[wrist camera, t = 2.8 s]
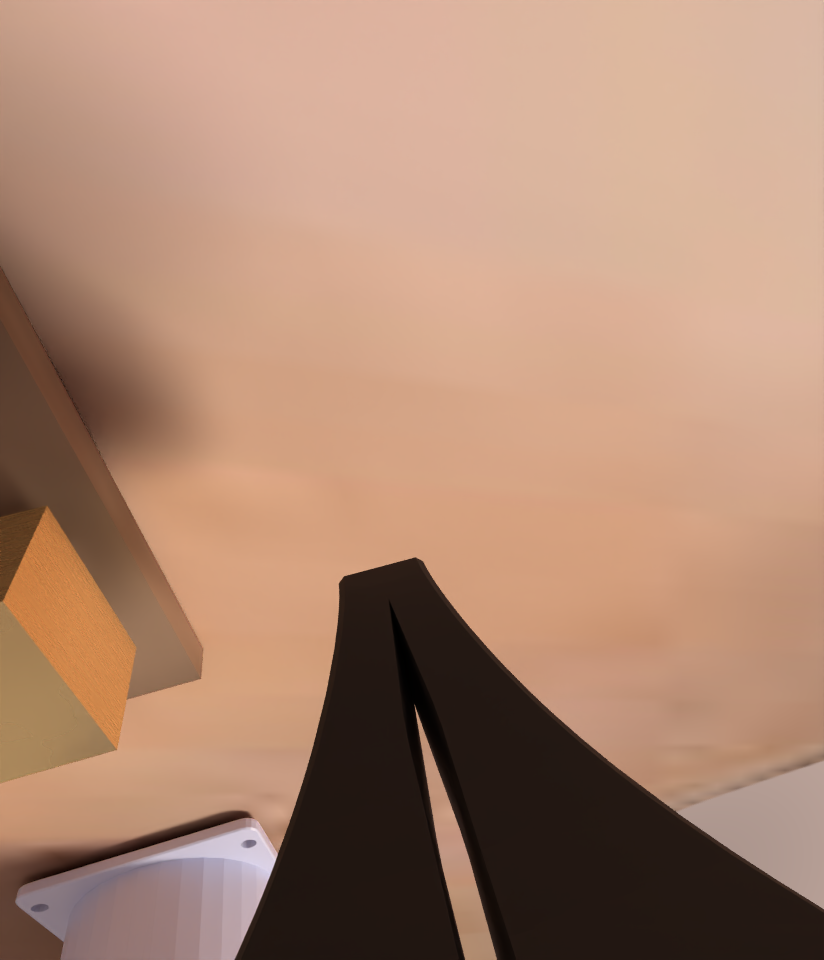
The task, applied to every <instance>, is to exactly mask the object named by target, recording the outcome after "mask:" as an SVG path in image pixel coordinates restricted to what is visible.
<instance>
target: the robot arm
mask: <svg viewBox="0 0 824 960" xmlns="http://www.w3.org/2000/svg"><path fill="white" fill-rule="evenodd" d="M414 704H415V706H414ZM415 707H416V710H417V712H418V715H419V718H420V721H421V723H422V726H423V729H424V732H425V734H426V737H427V740H428V743H429V745H430V748H431V751H432V754H433V756H434V759H435V762H436V765H437V767H438V770H439V773H440V776H441V778H442V781H443V784H444V787H445V789H446V792H447V795H448V798H449V800H450V803H451V806H452V809H453V811H454V814H455V817H456V820H457V822H458V825H459V828H460V831H461V834H462V837H463V840H464V843H465V846H466V849H467V853H468V856H469V859H470V862H471V866H472V870H473V873H474V877H475V881H476V884H477V888H478V891H479V895H480V899H481V902H482V906H483V910H484V913H485V917H486V920H487V924H488V928H489V931H490V935H491V939H492V942H493V946H494V950H495V953H496V957H497V960H824V909H822V908H821V907H819V906H818V905H816V904H815V903H813V902H811V901H810V900H808V899H806V898H805V897H803V896H802V895H800V894H798V893H797V892H795V891H794V890H792V889H790V888H789V887H787V886H785V885H784V884H782V883H781V882H779V881H777V880H776V879H774V878H773V877H771V876H770V875H768V874H767V873H765V872H764V871H762V870H760V869H759V868H757V867H756V866H754V865H753V864H751V863H750V862H748V861H747V860H745V859H744V858H742V857H740V856H739V855H737V854H736V853H734V852H733V851H731V850H730V849H728V848H727V847H726V846H724V845H723V844H721V843H720V842H718V841H717V840H715V839H714V838H712V837H711V836H710V835H708V834H707V833H705V832H704V831H702V830H701V829H699V828H698V827H696V826H695V825H694V824H692V823H691V822H689V821H688V820H686V819H685V818H683V817H682V816H681V815H679V814H678V813H677V812H675V811H674V810H673V809H671V808H670V807H669V806H667V805H666V804H665V803H663V802H662V801H661V800H659V799H658V798H657V797H655V796H654V795H653V794H651V793H650V792H649V791H647V790H646V789H645V788H643V787H642V786H641V785H639V784H638V783H637V782H635V781H634V780H633V779H631V778H630V777H629V776H627V775H626V774H625V773H623V772H622V771H621V770H619V769H618V768H617V767H615V766H614V765H613V764H612V763H610V762H609V761H608V760H607V759H606V758H604V757H603V756H602V755H601V754H600V753H598V752H597V751H596V750H595V749H593V748H592V747H591V746H590V745H589V744H587V743H586V742H585V741H584V740H583V739H581V738H580V737H579V736H578V735H577V734H576V733H574V732H573V731H572V730H571V729H570V728H569V727H568V726H567V725H565V724H564V723H563V722H562V721H561V720H560V719H559V718H557V717H556V716H555V715H554V714H553V713H552V712H551V711H550V710H549V709H548V708H547V707H545V706H544V705H543V704H542V703H541V702H540V701H539V700H538V699H537V698H536V697H535V696H534V695H533V694H532V693H531V692H530V691H529V690H528V689H527V688H526V687H525V686H524V685H523V684H522V683H521V682H520V681H519V680H518V679H517V678H516V677H515V676H514V675H513V674H512V673H511V672H510V671H509V670H508V669H507V668H506V667H505V666H504V665H503V664H502V663H501V662H500V661H499V660H498V659H497V658H496V657H495V655H494V654H493V653H492V652H491V651H490V650H489V649H488V648H487V647H486V645H485V644H484V643H483V642H482V641H481V640H480V639H479V637H478V636H477V635H476V634H475V633H474V632H473V631H472V629H471V628H470V627H469V626H468V625H467V624H466V622H465V621H464V620H463V619H462V617H461V616H460V615H459V614H458V613H457V611H456V610H455V609H454V607H453V606H452V605H451V603H450V602H449V601H448V599H447V598H446V597H445V595H444V594H443V593H442V591H441V590H440V588H439V587H438V586H437V584H436V583H435V581H434V580H433V578H432V576H431V575H430V573H429V572H428V570H427V568H426V566H425V565H424V563H423V561H421V560H419V559H417V558H412V559H408V560H404V561H400V562H397V563H393V564H389V565H385V566H382V567H378V568H374V569H370V570H367V571H363V572H359V573H355V574H352V575H348V576H344V577H343V579H342V580H341V581H340V583H339V615H338V626H337V634H336V641H335V649H334V654H333V660H332V665H331V671H330V676H329V682H328V687H327V692H326V697H325V701H324V705H323V709H322V713H321V717H320V721H319V725H318V729H317V733H316V737H315V741H314V745H313V749H312V753H311V756H310V760H309V763H308V767H307V770H306V773H305V777H304V780H303V783H302V786H301V789H300V793H299V796H298V799H297V802H296V805H295V808H294V811H293V814H292V817H291V820H290V823H289V826H288V828H287V831H286V834H285V836H284V839H283V842H282V845H281V847H280V850H279V853H278V854H277V852H276V850H275V849H274V847H273V845H272V844H271V842H270V840H269V839H268V837H267V835H266V834H265V832H264V830H263V829H262V827H261V825H260V824H259V822H258V821H257V820H255V819H253V818H242V819H238V820H235V821H232V822H228V823H225V824H222V825H218V826H215V827H212V828H208V829H205V830H202V831H199V832H195V833H192V834H189V835H185V836H182V837H179V838H175V839H172V840H169V841H166V842H162V843H159V844H156V845H152V846H149V847H146V848H142V849H139V850H136V851H133V852H129V853H126V854H123V855H119V856H116V857H113V858H109V859H106V860H103V861H99V862H96V863H93V864H90V865H86V866H83V867H80V868H76V869H73V870H70V871H66V872H63V873H60V874H57V875H53V876H50V877H47V878H43V879H40V880H37V881H33V882H30V883H27V884H25V885H23V886H22V887H21V888H20V889H19V890H18V894H17V897H16V901H15V903H16V904H17V906H18V907H20V908H21V909H22V910H23V911H25V912H26V913H27V914H29V915H30V916H31V917H32V918H34V919H35V920H36V921H37V922H39V923H40V924H41V925H43V926H44V927H45V928H46V929H48V930H49V931H50V932H51V933H53V934H54V935H55V936H57V937H58V938H59V939H60V940H62V941H63V942H64V944H63V949H62V954H61V958H60V960H465V958H464V953H463V949H462V945H461V941H460V937H459V933H458V929H457V925H456V921H455V917H454V913H453V909H452V905H451V901H450V897H449V893H448V889H447V885H446V880H445V876H444V872H443V868H442V864H441V859H440V854H439V849H438V844H437V839H436V833H435V827H434V821H433V815H432V809H431V803H430V797H429V791H428V784H427V778H426V772H425V766H424V760H423V754H422V748H421V742H420V736H419V730H418V724H417V718H416V712H415Z"/></svg>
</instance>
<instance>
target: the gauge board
mask: <svg viewBox="0 0 824 960" xmlns="http://www.w3.org/2000/svg"><path fill="white" fill-rule="evenodd" d="M46 505H47V506H48V507H49V509H50V510H51V512H52V513H53V515H54V517H55V518H56V520H57V521H58V523H59V525H60V526H61V528H62V529H63V531H64V533H65V534H66V536H67V537H68V539H69V541H70V542H71V544H72V545H73V547H74V549H75V550H76V552H77V553H78V555H79V557H80V558H81V560H82V561H83V563H84V565H85V566H86V568H87V569H88V571H89V573H90V574H91V576H92V577H93V579H94V581H95V582H96V584H97V585H98V587H99V589H100V590H101V592H102V593H103V595H104V597H105V598H106V600H107V601H108V603H109V604H110V606H111V608H112V609H113V611H114V612H115V614H116V616H117V617H118V619H119V620H120V622H121V624H122V625H123V627H124V628H125V630H126V632H127V633H128V635H129V636H130V638H131V640H132V641H133V643H134V644H135V646H136V653H135V658H134V663H133V668H132V674H131V679H130V684H129V689H128V695H127V699H130V698H134V697H137V696H141V695H145V694H148V693H152V692H155V691H159V690H163V689H166V688H170V687H173V686H177V685H180V684H184V683H188V682H191V681H195V680H198V679H201V672H202V659H203V648H202V646H201V644H200V642H199V640H198V638H197V636H196V634H195V632H194V631H193V629H192V627H191V625H190V623H189V621H188V619H187V617H186V615H185V614H184V612H183V610H182V608H181V606H180V604H179V602H178V600H177V599H176V597H175V595H174V593H173V591H172V589H171V587H170V585H169V583H168V582H167V580H166V578H165V576H164V574H163V572H162V570H161V568H160V566H159V565H158V563H157V561H156V559H155V557H154V555H153V553H152V551H151V550H150V548H149V546H148V544H147V542H146V540H145V538H144V536H143V534H142V533H141V531H140V529H139V527H138V525H137V523H136V521H135V519H134V517H133V516H132V514H131V512H130V510H129V508H128V506H127V504H126V502H125V501H124V499H123V497H122V495H121V493H120V491H119V489H118V487H117V485H116V484H115V482H114V480H113V478H112V476H111V474H110V472H109V470H108V468H107V467H106V465H105V463H104V461H103V459H102V457H101V455H100V453H99V452H98V450H97V448H96V446H95V444H94V442H93V440H92V438H91V436H90V435H89V433H88V431H87V429H86V427H85V425H84V423H83V421H82V420H81V418H80V416H79V414H78V412H77V410H76V408H75V406H74V404H73V403H72V401H71V399H70V397H69V395H68V393H67V391H66V389H65V387H64V386H63V384H62V382H61V380H60V378H59V376H58V374H57V372H56V371H55V369H54V367H53V365H52V363H51V361H50V359H49V357H48V355H47V354H46V352H45V350H44V348H43V346H42V344H41V342H40V340H39V338H38V337H37V335H36V333H35V331H34V329H33V327H32V325H31V323H30V322H29V320H28V318H27V316H26V314H25V312H24V310H23V308H22V306H21V305H20V303H19V301H18V299H17V297H16V295H15V293H14V291H13V289H12V288H11V286H10V284H9V282H8V280H7V278H6V276H5V274H4V273H3V271H2V269H1V267H0V517H1V516H5V515H9V514H13V513H17V512H21V511H25V510H29V509H33V508H37V507H41V506H46Z"/></svg>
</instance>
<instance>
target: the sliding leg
mask: <svg viewBox="0 0 824 960" xmlns="http://www.w3.org/2000/svg"><path fill="white" fill-rule="evenodd" d="M135 653H136V646H135V644H134V643H133V641H132V640H131V638H130V636H129V635H128V633H127V632H126V630H125V628H124V627H123V625H122V624H121V622H120V620H119V619H118V617H117V616H116V614H115V612H114V611H113V609H112V608H111V606H110V604H109V603H108V601H107V600H106V598H105V597H104V595H103V593H102V592H101V590H100V589H99V587H98V585H97V584H96V582H95V581H94V579H93V577H92V576H91V574H90V573H89V571H88V569H87V568H86V566H85V565H84V563H83V561H82V560H81V558H80V557H79V555H78V553H77V552H76V550H75V549H74V547H73V545H72V544H71V542H70V541H69V539H68V537H67V536H66V534H65V533H64V531H63V529H62V528H61V526H60V525H59V523H58V521H57V520H56V518H55V517H54V515H53V513H52V512H51V510H50V509H49V507H48V506H47V505H46V506H41V507H37V508H33V509H29V510H25V511H21V512H17V513H13V514H9V515H5V516H1V517H0V783H3V782H6V781H10V780H13V779H17V778H20V777H24V776H27V775H31V774H34V773H38V772H41V771H45V770H48V769H52V768H55V767H59V766H62V765H66V764H69V763H73V762H76V761H80V760H83V759H87V758H90V757H94V756H97V755H101V754H104V753H108V752H111V751H115V750H117V747H118V742H119V736H120V731H121V726H122V721H123V715H124V710H125V705H126V700H127V695H128V689H129V684H130V679H131V674H132V668H133V663H134V658H135Z"/></svg>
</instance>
